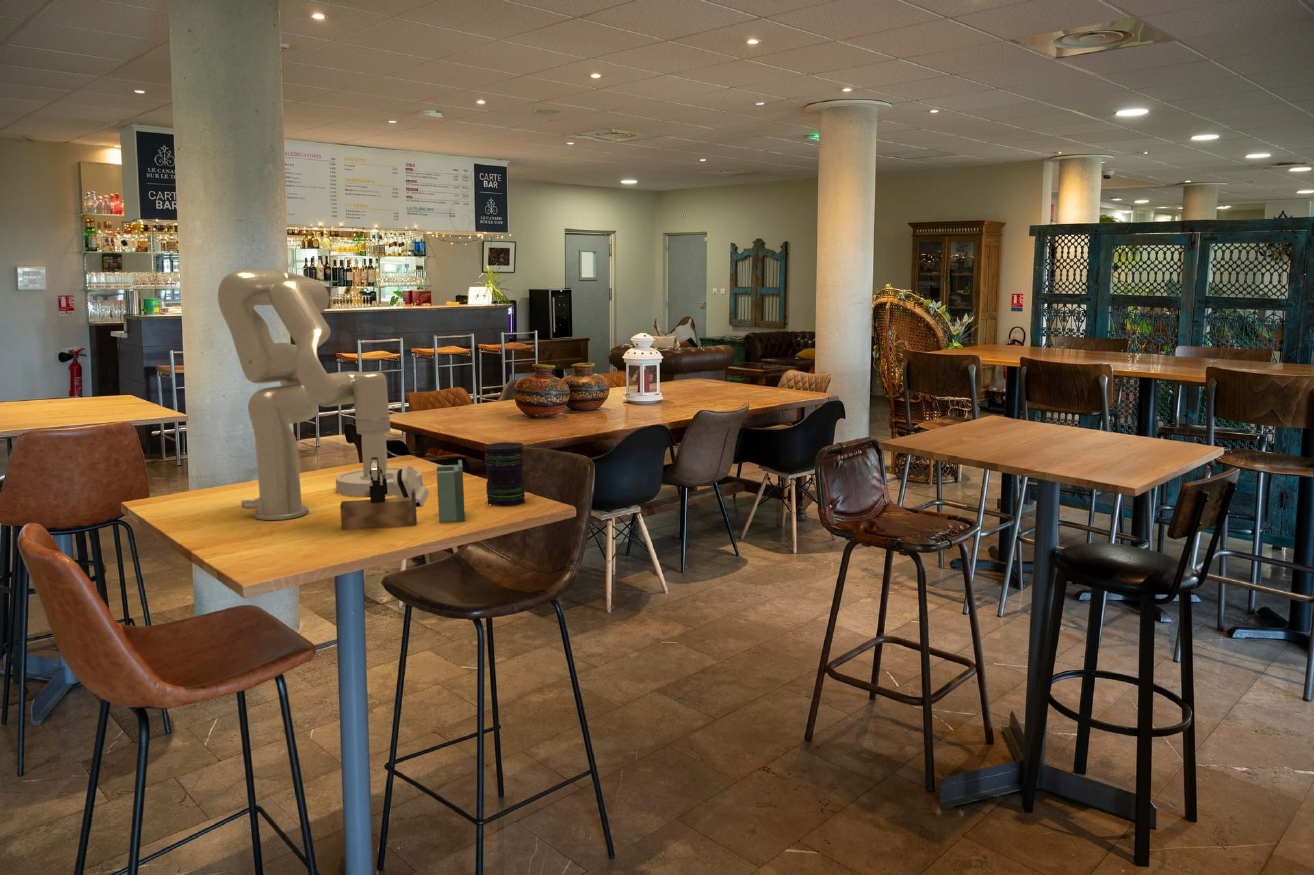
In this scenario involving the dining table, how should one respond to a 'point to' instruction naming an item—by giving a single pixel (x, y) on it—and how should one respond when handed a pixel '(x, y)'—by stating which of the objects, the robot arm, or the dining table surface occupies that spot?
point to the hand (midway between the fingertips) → (379, 498)
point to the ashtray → (366, 483)
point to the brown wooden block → (379, 513)
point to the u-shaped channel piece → (450, 493)
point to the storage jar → (505, 474)
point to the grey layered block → (409, 485)
